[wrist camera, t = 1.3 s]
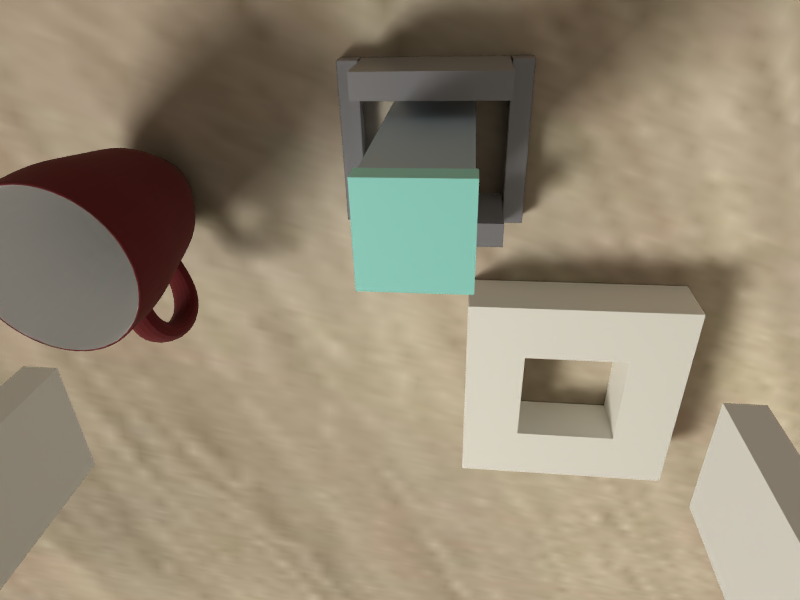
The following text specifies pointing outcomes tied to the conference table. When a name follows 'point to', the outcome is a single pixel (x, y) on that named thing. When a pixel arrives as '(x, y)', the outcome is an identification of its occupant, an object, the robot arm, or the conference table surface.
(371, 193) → the plug
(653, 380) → the frame
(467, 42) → the conference table surface
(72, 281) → the mug
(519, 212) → the holster
